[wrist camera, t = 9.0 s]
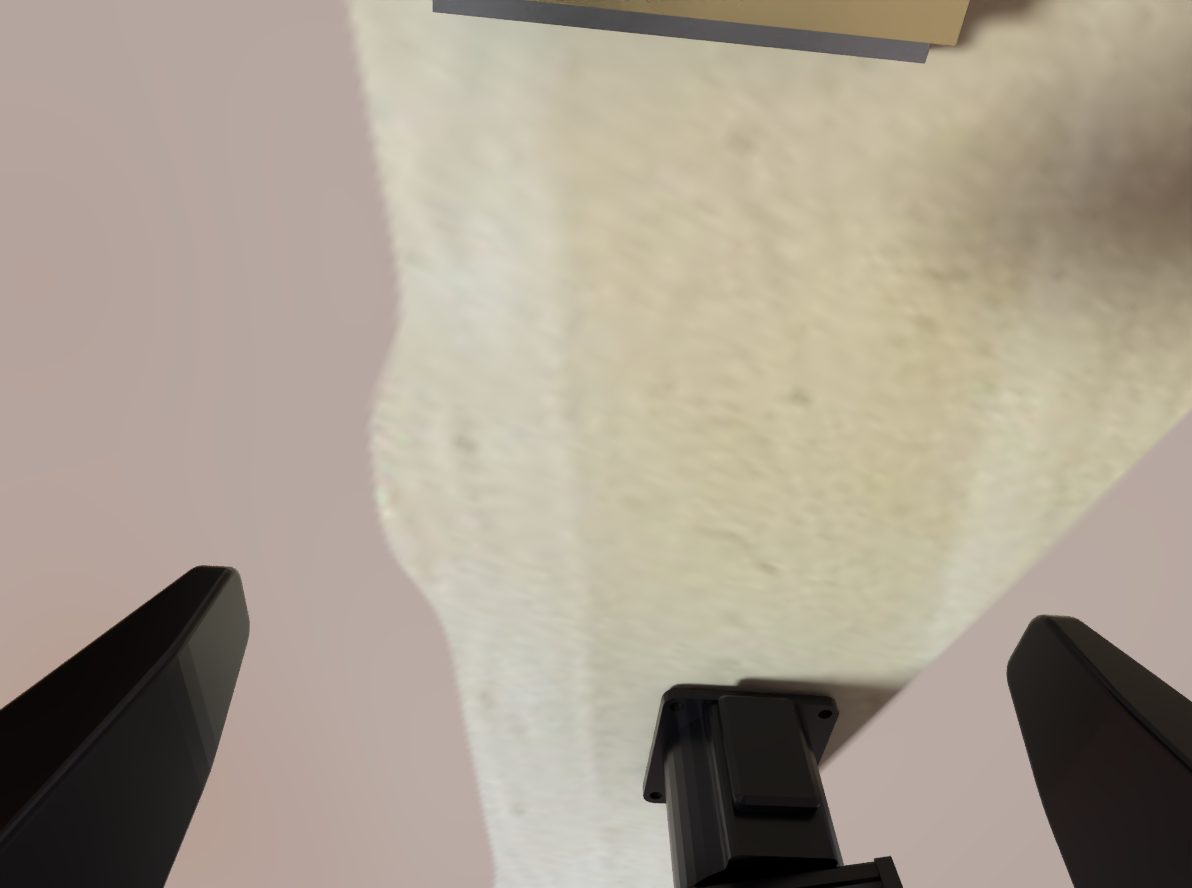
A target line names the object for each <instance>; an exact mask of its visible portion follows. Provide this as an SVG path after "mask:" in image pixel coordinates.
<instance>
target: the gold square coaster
mask: <svg viewBox="0 0 1192 888" xmlns="http://www.w3.org/2000/svg"><path fill="white" fill-rule="evenodd" d="M969 1H970V0H433V12H438V13H448V14H457V15H467V16H476V17H486V18H496V19H505V20H515V21H524V22H534V23H543V24H553V25H562V26H572V27H582V28H591V29H601V30H610V31H620V32H629V33H639V34H648V35H658V36H668V37H677V38H687V39H696V40H706V41H715V42H725V43H735V44H744V45H754V46H763V47H773V48H782V49H792V50H801V51H811V52H821V53H830V54H840V55H849V56H859V57H868V58H878V59H887V60H897V61H907V62H916V63H925V62H926V58H927V55H928V52H929V48H930V45H931V43H933V44H942V45H952V46H956V43H957V40H958V37H959V33H960V30H961V27H962V24H963V21H964V17H965V14H966V11H967V8H968V4H969Z"/></svg>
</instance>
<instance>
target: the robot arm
mask: <svg viewBox="0 0 1192 888" xmlns="http://www.w3.org/2000/svg"><path fill="white" fill-rule="evenodd" d="M249 627H250V622H249V615H248V610H247V605H246V601H245V596H244V591H243V586H242V581H241V577H240V574H239V572H238V571H237V570H236V569H235V568H232V567H224V566H206V565H201V566H197V567H195V568H193V569H191V570H189V571H188V572H187V573H185V574H184V575H183V576H181V577H180V578H178V579H177V580H176V581H174V582H173V583H172V584H170V585H169V586H168V587H166V588H165V589H163V590H162V591H161V592H159V593H158V594H157V595H155V596H154V597H153V598H152V599H150V600H149V601H147V602H146V603H145V604H143V605H142V606H140V607H139V608H138V609H136V610H135V611H134V612H132V613H131V614H130V615H128V616H127V617H125V618H124V619H123V620H121V621H120V622H119V623H117V624H116V625H115V626H113V627H112V628H110V629H109V630H108V631H106V632H105V633H104V634H102V635H101V636H100V637H98V638H97V639H95V640H94V641H93V642H91V643H90V644H89V645H87V646H86V647H85V648H84V649H82V650H81V651H79V652H78V653H77V654H75V655H74V656H72V657H71V658H70V659H68V660H67V661H66V662H64V663H63V664H61V665H60V666H59V667H58V668H56V669H55V670H53V671H52V672H51V673H49V674H48V675H47V676H45V677H44V678H43V679H41V680H40V681H38V682H37V683H36V684H34V685H33V686H32V687H30V688H29V689H27V690H26V691H25V692H23V693H22V694H21V695H19V696H18V697H17V698H16V699H14V700H13V701H11V702H10V703H9V704H7V705H6V706H4V707H3V708H2V709H0V888H164V886H165V883H166V881H167V878H168V876H169V873H170V871H171V868H172V866H173V864H174V861H175V859H176V856H177V854H178V851H179V849H180V847H181V844H182V842H183V839H184V837H185V834H186V832H187V829H188V827H189V825H190V822H191V820H192V817H193V815H194V812H195V810H196V807H197V805H198V803H199V800H200V798H201V795H202V793H203V790H204V787H205V785H206V782H207V779H208V777H209V774H210V772H211V768H212V765H213V762H214V758H215V755H216V752H217V749H218V745H219V741H220V738H221V734H222V731H223V727H224V724H225V720H226V717H227V713H228V710H229V706H230V702H231V699H232V695H233V692H234V688H235V685H236V681H237V678H238V674H239V671H240V667H241V663H242V660H243V656H244V653H245V649H246V646H247V641H248V637H249ZM1007 681H1008V686H1009V689H1010V693H1011V696H1012V700H1013V704H1014V707H1015V711H1016V714H1017V718H1018V721H1019V725H1020V728H1021V732H1022V736H1023V739H1024V743H1025V746H1026V750H1027V753H1028V757H1029V761H1030V764H1031V768H1032V771H1033V775H1034V778H1035V782H1036V785H1037V788H1038V792H1039V795H1040V798H1041V801H1042V804H1043V807H1044V810H1045V813H1046V816H1047V818H1048V821H1049V824H1050V827H1051V829H1052V832H1053V834H1054V837H1055V840H1056V842H1057V844H1058V847H1059V849H1060V852H1061V855H1062V857H1063V860H1064V862H1065V865H1066V867H1067V870H1068V872H1069V875H1070V878H1071V880H1072V883H1073V885H1074V888H1192V702H1191V701H1190V700H1188V699H1187V698H1186V697H1184V696H1183V695H1182V694H1180V693H1179V692H1178V691H1176V690H1175V689H1173V688H1172V687H1171V686H1169V685H1168V684H1167V683H1165V682H1164V681H1162V680H1161V679H1160V678H1158V677H1157V676H1156V675H1154V674H1153V673H1152V672H1150V671H1149V670H1147V669H1146V668H1145V667H1143V666H1142V665H1140V664H1139V663H1138V662H1136V661H1135V660H1134V659H1132V658H1131V657H1129V656H1128V655H1127V654H1125V653H1124V652H1123V651H1121V650H1120V649H1118V648H1117V647H1116V646H1114V645H1113V644H1112V643H1110V642H1109V641H1108V640H1106V639H1105V638H1103V637H1102V636H1101V635H1099V634H1098V633H1097V632H1095V631H1094V630H1092V629H1091V628H1090V627H1088V626H1087V625H1086V624H1084V623H1083V622H1081V621H1080V620H1078V619H1076V618H1074V617H1070V616H1058V615H1039V616H1037V617H1035V618H1034V619H1032V621H1031V622H1030V624H1029V625H1028V627H1027V629H1026V631H1025V632H1024V634H1023V636H1022V637H1021V639H1020V641H1019V643H1018V645H1017V646H1016V648H1015V650H1014V652H1013V653H1012V655H1011V657H1010V659H1009V661H1008V665H1007ZM838 715H839V710H838V707H837V704H836V702H835V700H834V699H833V698H831V697H826V696H807V695H787V694H768V693H749V692H729V691H710V690H690V689H672V690H669V691H667V692H665V693H664V694H663V696H662V699H661V704H660V708H659V713H658V718H657V722H656V727H655V732H654V736H653V741H652V746H651V750H650V755H649V759H648V764H647V769H646V773H645V778H644V783H643V796H644V799H645V800H646V801H648V802H651V803H666V806H667V817H668V828H669V838H670V849H671V860H672V871H673V881H674V888H903V886H902V884H901V881H900V878H899V876H898V873H897V870H896V868H895V866H894V863H893V860H892V857H891V856H888V857H880V858H874V862H867V863H860V864H853V865H846V866H844V863H843V859H842V856H841V852H840V848H839V845H838V841H837V837H836V833H835V830H834V826H833V822H832V819H831V815H830V811H829V807H828V804H827V800H826V796H825V793H824V789H823V785H822V782H821V778H820V774H819V770H818V767H817V766H818V764H819V761H820V759H821V757H822V754H823V752H824V749H825V747H826V744H827V742H828V739H829V737H830V735H831V732H832V730H833V727H834V725H835V722H836V720H837V717H838Z"/></svg>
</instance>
